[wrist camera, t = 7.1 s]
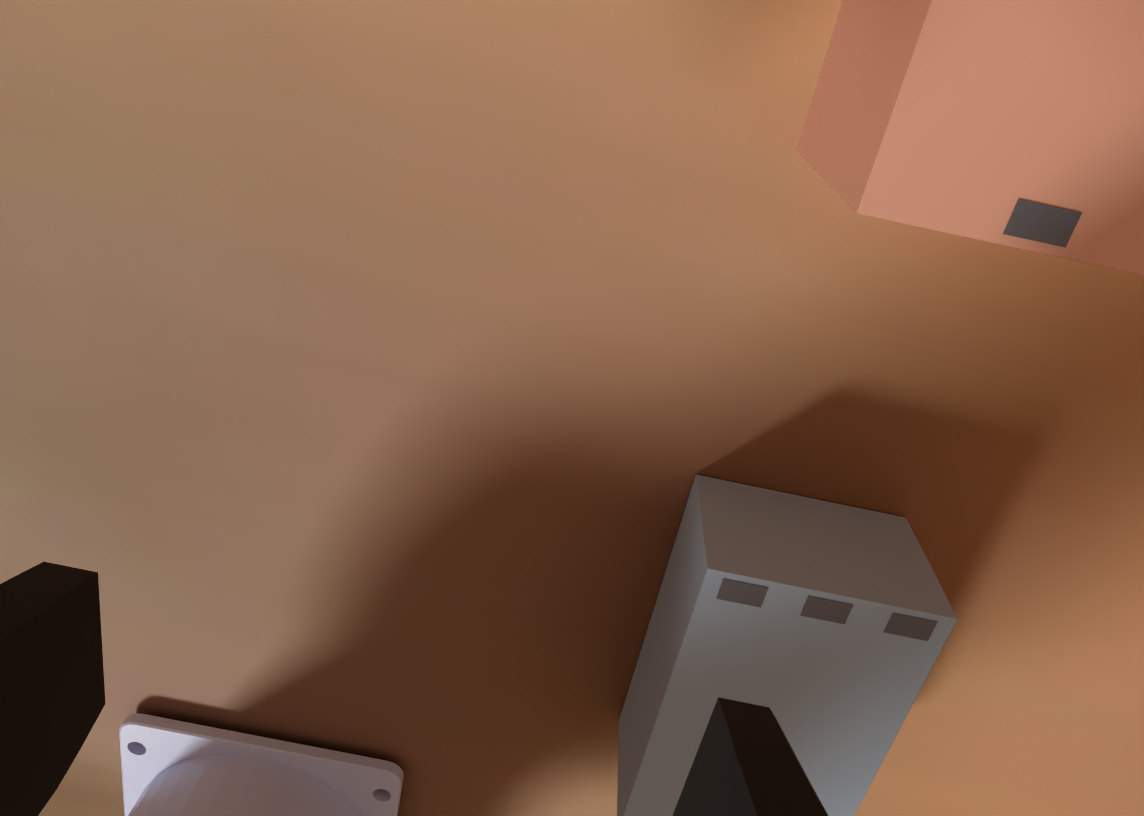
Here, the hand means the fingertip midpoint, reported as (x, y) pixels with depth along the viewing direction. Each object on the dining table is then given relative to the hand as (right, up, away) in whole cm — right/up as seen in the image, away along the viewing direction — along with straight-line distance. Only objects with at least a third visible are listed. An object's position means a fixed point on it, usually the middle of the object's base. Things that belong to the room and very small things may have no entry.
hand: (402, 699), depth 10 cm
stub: (+9, +10, +5) cm, 14 cm away
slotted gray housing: (+7, -2, +11) cm, 13 cm away
